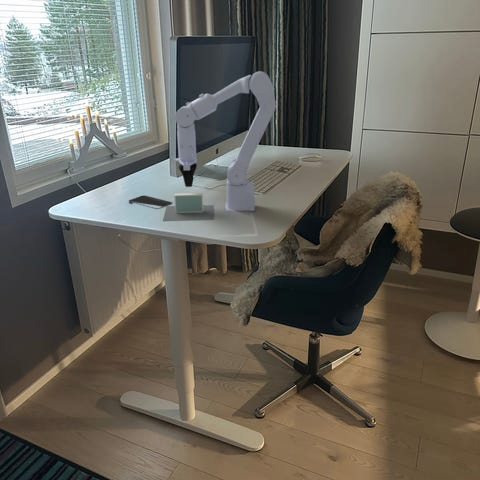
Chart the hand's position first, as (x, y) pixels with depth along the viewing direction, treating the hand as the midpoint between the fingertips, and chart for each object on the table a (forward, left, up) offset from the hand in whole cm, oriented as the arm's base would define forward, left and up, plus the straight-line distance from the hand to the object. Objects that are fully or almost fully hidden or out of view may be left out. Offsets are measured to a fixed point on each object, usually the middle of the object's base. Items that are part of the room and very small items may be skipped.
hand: (188, 186), depth 151 cm
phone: (+14, -5, -8) cm, 17 cm away
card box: (0, +6, -7) cm, 9 cm away
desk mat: (0, +7, -8) cm, 10 cm away
